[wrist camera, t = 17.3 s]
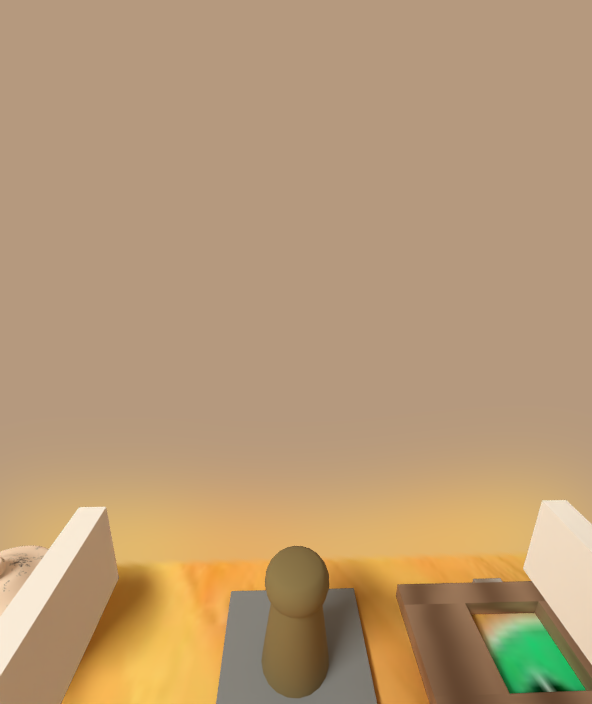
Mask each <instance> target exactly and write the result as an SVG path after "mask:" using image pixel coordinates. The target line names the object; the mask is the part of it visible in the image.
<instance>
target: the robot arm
mask: <svg viewBox="0 0 592 704" xmlns="http://www.w3.org/2000/svg"><path fill="white" fill-rule="evenodd" d="M523 569H524V571H525V572H526V574H527V575H528V576H529V578H530V579H531V581H532V582H533V583H534V585H535V586H536V588H537V589H538V590H539V592H540V593H541V595H542V596H543V597H544V599H545V600H546V602H547V603H548V604H549V606H550V607H551V609H552V610H553V611H554V613H555V614H556V616H557V617H558V618H559V620H560V621H561V623H562V624H563V625H564V627H565V628H566V630H567V631H568V632H569V634H570V635H571V637H572V638H573V639H574V641H575V642H576V644H577V645H578V646H579V648H580V649H581V651H582V652H583V653H584V655H585V656H586V658H587V659H588V660H589V662H590V663H591V665H592V524H591V523H590V522H589V521H588V520H586V518H585V517H583V516H582V515H581V514H580V513H579V512H578V511H577V510H576V509H575V508H574V507H573V506H572V505H571V504H570V503H569V502H567V500H551V501H550V500H543V501H542V503H541V507H540V510H539V514H538V517H537V521H536V524H535V528H534V531H533V535H532V539H531V543H530V546H529V549H528V553H527V556H526V560H525V564H524V567H523ZM118 579H119V576H118V570H117V565H116V559H115V554H114V548H113V543H112V537H111V532H110V526H109V520H108V515H107V509H106V507H79V508H78V510H77V511H76V512H75V514H74V515H73V517H72V518H71V519H70V521H69V522H68V523H67V525H66V526H65V528H64V529H63V530H62V532H61V533H60V535H59V536H58V537H57V539H56V540H55V542H54V543H53V544H52V546H51V547H50V549H49V550H48V551H47V553H46V554H45V555H44V557H43V558H42V560H41V561H40V562H39V564H38V565H37V566H36V568H35V569H34V571H33V572H32V573H31V575H30V576H29V578H28V579H27V580H26V582H25V583H24V584H23V586H22V587H21V589H20V590H19V591H18V593H17V594H16V596H15V597H14V598H13V600H12V601H11V603H10V604H9V605H8V607H7V608H6V609H5V611H4V612H3V614H2V615H1V616H0V704H61V702H62V700H63V698H64V696H65V694H66V691H67V689H68V687H69V685H70V683H71V681H72V679H73V676H74V674H75V672H76V670H77V668H78V666H79V663H80V661H81V659H82V657H83V655H84V653H85V650H86V648H87V646H88V644H89V642H90V640H91V637H92V635H93V633H94V631H95V629H96V627H97V624H98V622H99V620H100V618H101V616H102V614H103V611H104V609H105V607H106V605H107V603H108V601H109V598H110V596H111V594H112V592H113V590H114V588H115V585H116V583H117V581H118Z"/></svg>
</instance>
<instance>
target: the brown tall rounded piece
mask: <svg viewBox="0 0 592 704" xmlns="http://www.w3.org/2000/svg"><path fill="white" fill-rule="evenodd" d="M265 587H266V592H267V596H268V599H269V601H270V602H271V605H270V610H269V616H268V622H267V628H266V634H265V640H264V646H263V652H262V660H261V662H262V669H263V674H264V676H265V678H266V680H267V682H268V684H269V685H270V686H271V687H272V688H273V689H274V690H275V691H276V692H277V693H279V694H281V695H283V696H285V697H287V698H302V697H306V696H309V695H311V694H312V693H313V692H315V691H316V690H317V689H318V688H320V686H321V684H322V683H323V681H324V680H325V678H326V675H327V671H328V668H329V654H328V645H327V637H326V629H325V621H324V613H323V604H324V602H325V599H326V596H327V593H328V590H329V574H328V570H327V568H326V565H325V563H324V561H323V560H322V559H321V558H320V556H319V555H318V554H317V553H316V552H314V551H313V550H311V549H309V548H306V547H303V546H292V547H287V548H285V549H283V550H281V551H280V552H279V553H278V554H276V555H275V556H274V557H273V558H272V560H271V562H270V564H269V565H268V568H267V571H266V577H265Z"/></svg>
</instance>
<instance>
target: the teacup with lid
mask: <svg viewBox="0 0 592 704" xmlns="http://www.w3.org/2000/svg"><path fill="white" fill-rule="evenodd" d="M48 550H49V549H47V548H44V547H40V546H21V547H15V548H11V549H7V550H4V551H1V552H0V616H1V615H2V614H3V612H4V611H5V609H6V608H7V607H8V605H9V604H10V603H11V601H12V600H13V598H14V597H15V596H16V594H17V593H18V591H19V590H20V589H21V587H22V586H23V584H24V583H25V582H26V580H27V579H28V578H29V576H30V575H31V573H32V572H33V571H34V569H35V568H36V566H37V565H38V564H39V562H40V561H41V560H42V558H43V557H44V555H45V554H46V553H47V551H48Z"/></svg>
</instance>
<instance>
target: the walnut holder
mask: <svg viewBox="0 0 592 704" xmlns="http://www.w3.org/2000/svg"><path fill="white" fill-rule="evenodd" d="M396 598H397V601H398V604H399V607H400V610H401V613H402V617H403V620H404V623H405V626H406V629H407V632H408V636H409V639H410V642H411V645H412V648H413V652H414V655H415V658H416V661H417V664H418V667H419V671H420V674H421V677H422V680H423V683H424V686H425V690H426V693H427V696H428V699H429V702H430V704H592V665H591V663H590V662H589V660H588V659H587V658H586V656H585V655H584V653H583V652H582V651H581V649H580V648H579V646H578V645H577V644H576V642H575V641H574V639H573V638H572V637H571V635H570V634H569V632H568V631H567V630H566V628H565V627H564V625H563V624H562V623H561V621H560V620H559V618H558V617H557V616H556V614H555V613H554V611H553V610H552V609H551V607H550V606H549V604H548V603H547V602H546V600H545V599H544V597H543V596H542V595H541V593H540V592H539V590H538V589H537V588H536V586H535V585H534V583H533V582H532V581H523V582H502V580H501V579H500V578H493V579H473V582H472V583H441V584H400V585H397V592H396ZM502 613H535V614H536V615H537V617H538V618H539V620H540V621H541V623H542V624H543V626H544V627H545V629H546V630H547V632H548V633H549V635H550V636H551V638H552V639H553V641H554V642H555V644H556V645H557V647H558V648H559V650H560V651H561V653H562V654H563V656H564V657H565V659H566V660H567V662H568V663H569V665H570V666H571V668H572V669H573V671H574V672H575V674H576V675H577V677H578V678H579V680H580V681H581V683H582V684H583V686H584V687H585V689H586V690H587V691H567V692H541V693H515V694H510V693H509V691H508V689H507V687H506V685H505V683H504V681H503V679H502V677H501V675H500V673H499V671H498V669H497V667H496V665H495V663H494V661H493V659H492V657H491V655H490V653H489V651H488V649H487V647H486V645H485V643H484V641H483V639H482V637H481V635H480V633H479V630H478V628H477V626H476V624H475V622H474V620H473V618H472V616H471V614H502Z"/></svg>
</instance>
